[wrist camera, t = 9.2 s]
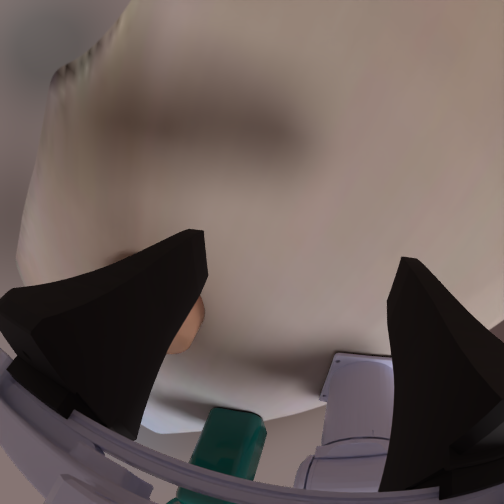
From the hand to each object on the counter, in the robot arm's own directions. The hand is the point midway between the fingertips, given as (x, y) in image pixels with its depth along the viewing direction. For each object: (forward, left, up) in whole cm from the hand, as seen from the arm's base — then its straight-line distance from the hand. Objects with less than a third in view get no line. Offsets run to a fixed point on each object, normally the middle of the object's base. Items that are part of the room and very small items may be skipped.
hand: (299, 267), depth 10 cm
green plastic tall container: (-38, +7, -10) cm, 40 cm away
